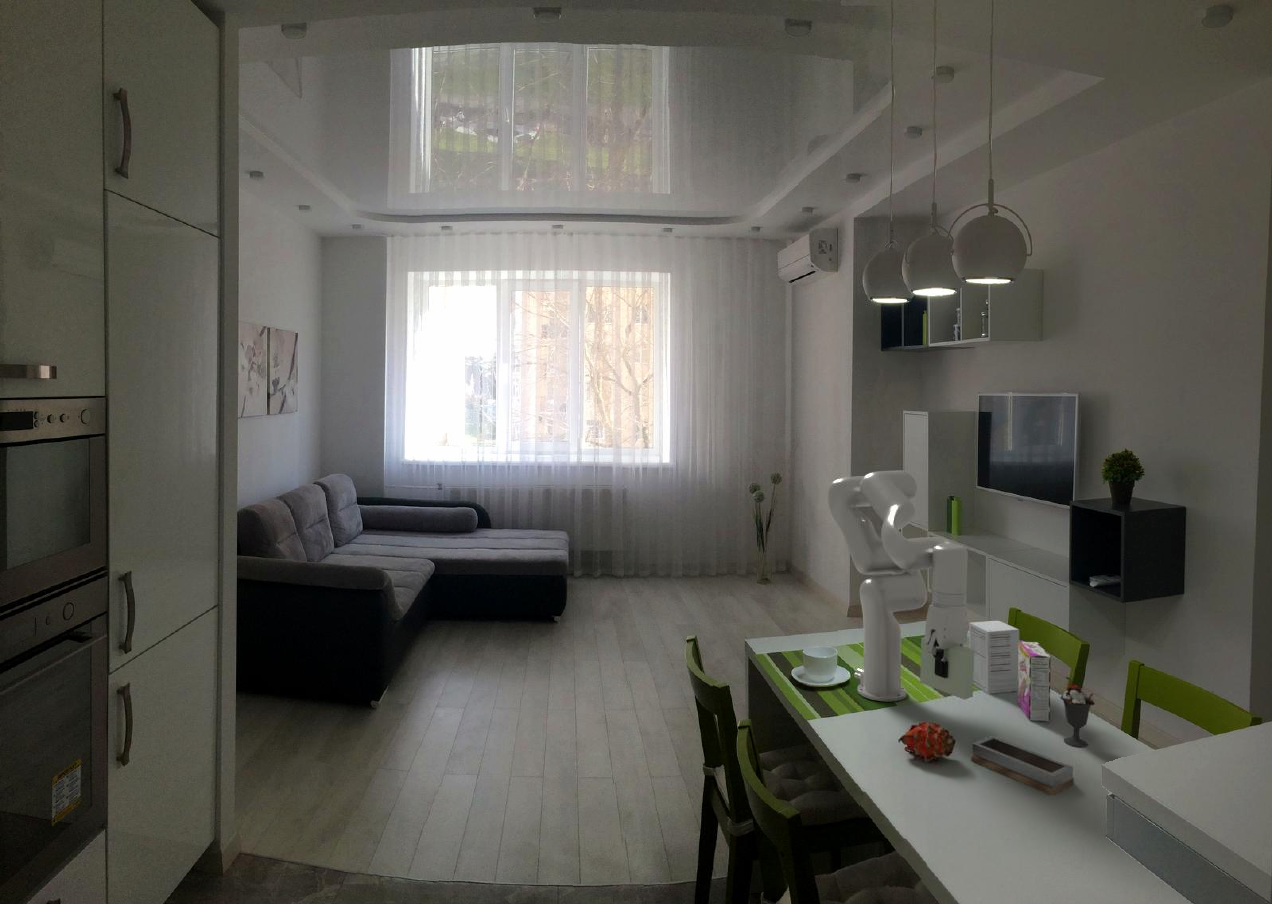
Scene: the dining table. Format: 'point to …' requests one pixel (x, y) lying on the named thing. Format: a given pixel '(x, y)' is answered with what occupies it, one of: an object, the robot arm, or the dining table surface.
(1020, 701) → the candy bar box
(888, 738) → the dining table surface
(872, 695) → the robot arm
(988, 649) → the supplement box
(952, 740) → the dragon fruit
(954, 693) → the pale green rectangular block
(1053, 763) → the open rectangular box
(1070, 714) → the sundae
